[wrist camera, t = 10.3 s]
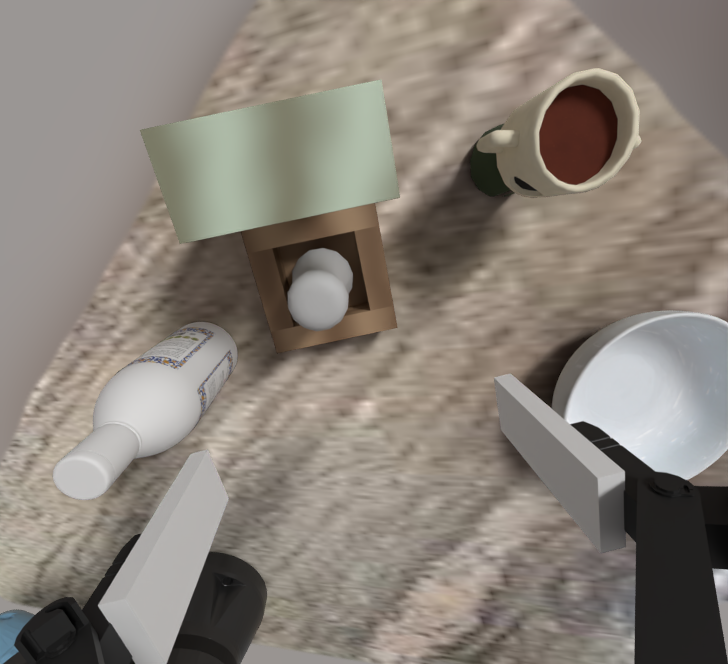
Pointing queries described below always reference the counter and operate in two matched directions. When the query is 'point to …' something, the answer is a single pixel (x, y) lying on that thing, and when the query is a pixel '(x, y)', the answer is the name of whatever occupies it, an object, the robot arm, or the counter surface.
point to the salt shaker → (320, 289)
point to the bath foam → (149, 407)
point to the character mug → (561, 139)
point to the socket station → (289, 195)
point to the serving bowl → (654, 388)
